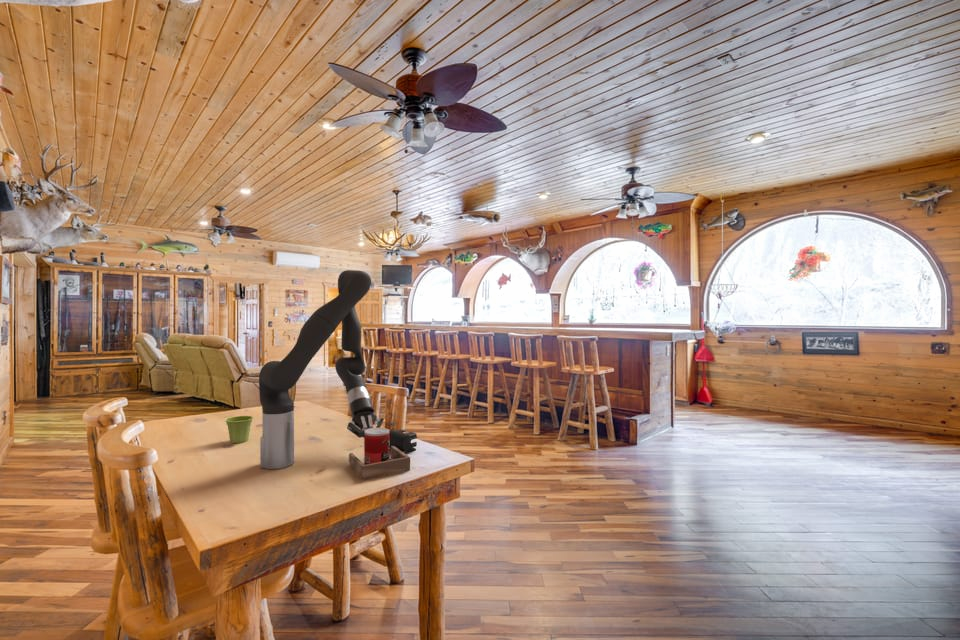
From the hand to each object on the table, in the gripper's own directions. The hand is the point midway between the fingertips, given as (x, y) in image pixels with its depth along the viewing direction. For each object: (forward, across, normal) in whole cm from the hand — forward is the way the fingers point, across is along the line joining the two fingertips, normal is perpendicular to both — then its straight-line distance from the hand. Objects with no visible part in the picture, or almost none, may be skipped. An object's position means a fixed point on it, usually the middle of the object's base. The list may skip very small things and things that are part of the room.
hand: (371, 446), depth 142 cm
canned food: (+7, 0, 0) cm, 7 cm away
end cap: (0, +12, +7) cm, 14 cm away
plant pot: (-30, -35, +38) cm, 60 cm away
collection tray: (+8, 0, -2) cm, 9 cm away
